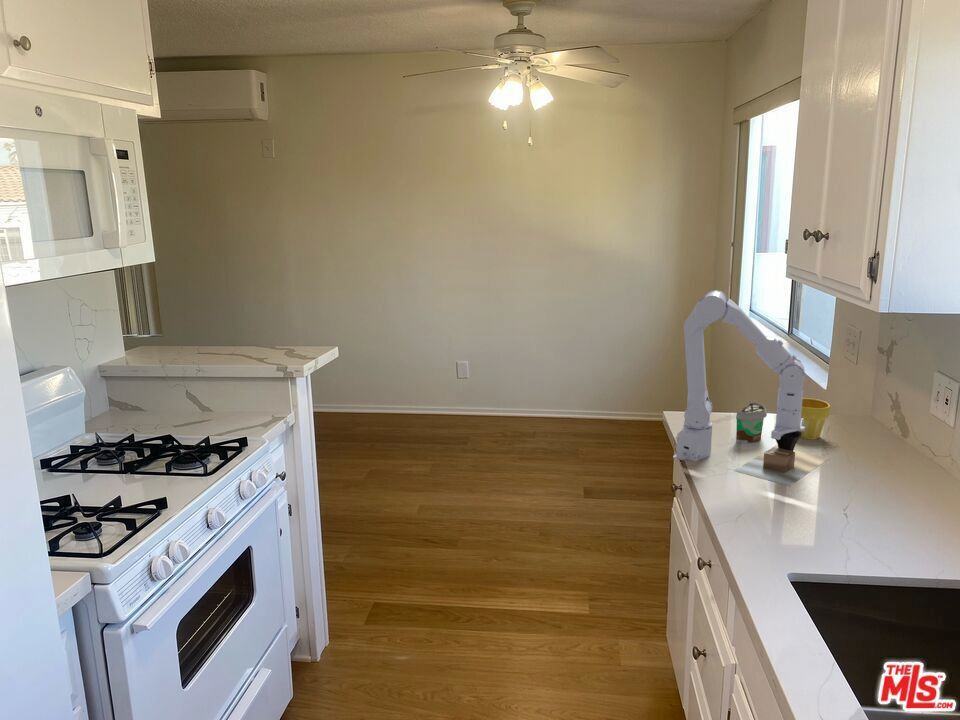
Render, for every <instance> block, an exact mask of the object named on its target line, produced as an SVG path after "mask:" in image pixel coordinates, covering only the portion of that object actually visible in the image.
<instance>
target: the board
mask: <svg viewBox="0 0 960 720" xmlns="http://www.w3.org/2000/svg"><path fill="white" fill-rule="evenodd" d="M773 447H776V448H778V444H777V445H775V446H773ZM773 447H771V448H773ZM768 450H769V449H768ZM768 450H766V451H768ZM766 451H764V452H763V453H761V454H759V455H758V456H756V457H755V458H753V459H751V460H750V461H748V462H746V463H744V464H743V465H741V466H739V467H738V468H736V469H734V470H733V471H734V472H736V473H740V474H743V475H747V476H751V477H754V478H758V479H761V480H765V481H768V482H773V483H776V484H780V485H784V486H786V487H791V486H792V485H794V484H795V483H797V482H798V481H799V480H801V479H802V478H804V477H805V476H806V475H807V474H809V473H811V472H812V471H813V470H815V469H816V468H818V467H819V466H820V465H822V464H823V463H825V462H826V461H828V460H829V459H830V457H827V456H824V455H823V456H822V455H819V454H814V453H810V452H805V451H802V450H797V449H794V450H793V452H795V462H794V467H793V468H792V469H791V470H789V471H788V472H786V473H781V472H777V471H774V470H770V469H766V468H763V462H764V453H765V452H766Z"/></svg>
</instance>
